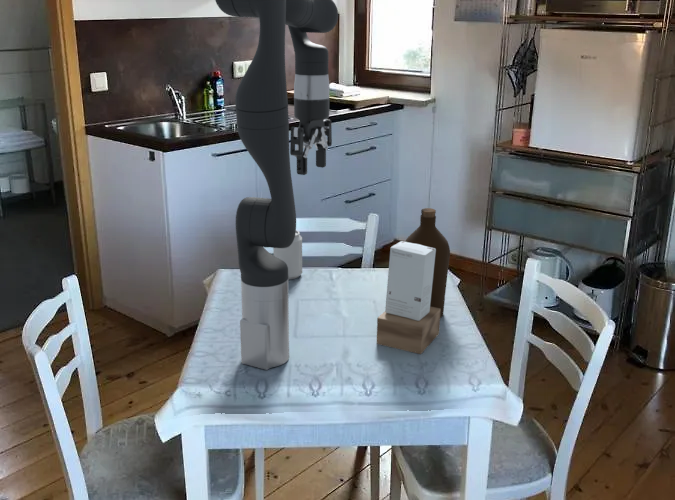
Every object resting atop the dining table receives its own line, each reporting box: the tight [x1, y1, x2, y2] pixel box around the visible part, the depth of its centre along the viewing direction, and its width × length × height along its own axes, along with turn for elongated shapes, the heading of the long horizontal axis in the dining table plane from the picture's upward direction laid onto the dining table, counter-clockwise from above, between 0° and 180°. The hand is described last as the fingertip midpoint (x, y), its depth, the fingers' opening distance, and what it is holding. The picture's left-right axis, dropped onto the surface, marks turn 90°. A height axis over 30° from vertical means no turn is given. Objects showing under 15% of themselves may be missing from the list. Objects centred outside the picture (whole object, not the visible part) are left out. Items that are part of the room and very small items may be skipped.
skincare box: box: [384, 240, 436, 321], centre depth 154 cm, size 8×6×15 cm
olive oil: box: [404, 207, 451, 319], centre depth 166 cm, size 11×11×25 cm
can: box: [272, 229, 303, 280], centre depth 191 cm, size 8×8×12 cm
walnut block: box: [376, 306, 441, 355], centre depth 157 cm, size 11×10×6 cm
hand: (311, 170), depth 162 cm, fingers open, 8 cm apart
